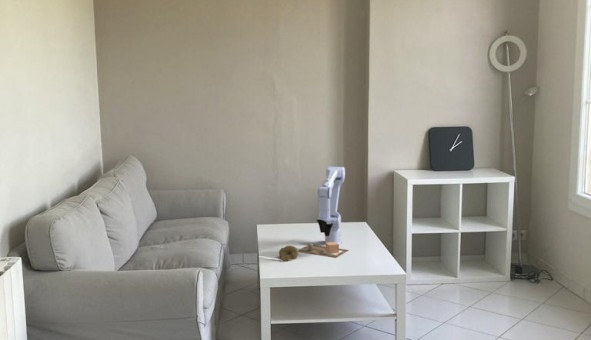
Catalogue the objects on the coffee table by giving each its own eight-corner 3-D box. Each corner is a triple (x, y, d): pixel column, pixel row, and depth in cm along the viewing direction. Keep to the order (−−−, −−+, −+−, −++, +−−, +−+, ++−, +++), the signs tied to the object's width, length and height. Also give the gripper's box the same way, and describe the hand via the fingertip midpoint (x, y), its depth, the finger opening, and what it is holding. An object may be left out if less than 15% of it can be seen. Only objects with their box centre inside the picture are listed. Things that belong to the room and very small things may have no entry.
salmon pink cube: (335, 250, 321) (335, 241, 320) (338, 252, 316) (338, 244, 315) (325, 250, 320) (325, 242, 319) (329, 253, 314) (329, 245, 314)
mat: (329, 249, 323) (329, 248, 323) (342, 251, 319) (342, 250, 319) (322, 253, 316) (322, 252, 316) (335, 255, 312) (335, 254, 312)
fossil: (277, 248, 310) (295, 242, 311) (277, 252, 314) (296, 247, 315) (281, 262, 305) (300, 257, 306) (282, 266, 308) (300, 261, 309)
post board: (309, 246, 334) (309, 238, 333) (349, 251, 322) (349, 243, 321) (295, 253, 320) (295, 245, 319) (335, 259, 308) (335, 251, 307)
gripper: (313, 207, 326) (313, 231, 328) (321, 212, 312) (321, 238, 314) (325, 206, 328) (326, 230, 330) (334, 211, 314) (334, 237, 316)
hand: (324, 234), depth 322 cm, fingers open, 7 cm apart
